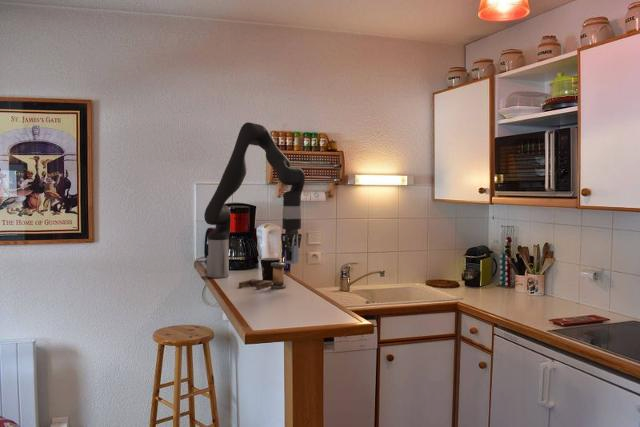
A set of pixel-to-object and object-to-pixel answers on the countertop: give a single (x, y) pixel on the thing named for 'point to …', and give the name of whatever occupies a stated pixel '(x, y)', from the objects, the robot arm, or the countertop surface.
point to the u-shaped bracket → (255, 283)
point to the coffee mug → (268, 268)
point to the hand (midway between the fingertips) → (291, 259)
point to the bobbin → (278, 275)
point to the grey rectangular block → (293, 255)
